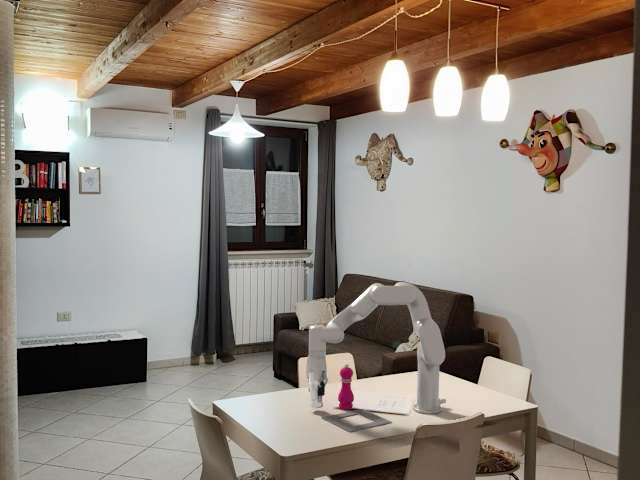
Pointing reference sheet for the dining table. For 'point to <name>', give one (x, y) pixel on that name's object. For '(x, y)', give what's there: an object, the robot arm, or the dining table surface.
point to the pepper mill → (346, 389)
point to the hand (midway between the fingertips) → (316, 393)
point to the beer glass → (314, 392)
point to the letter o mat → (336, 421)
